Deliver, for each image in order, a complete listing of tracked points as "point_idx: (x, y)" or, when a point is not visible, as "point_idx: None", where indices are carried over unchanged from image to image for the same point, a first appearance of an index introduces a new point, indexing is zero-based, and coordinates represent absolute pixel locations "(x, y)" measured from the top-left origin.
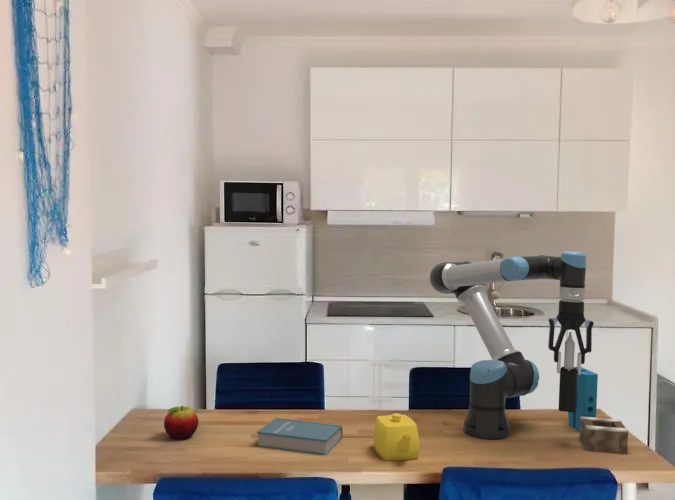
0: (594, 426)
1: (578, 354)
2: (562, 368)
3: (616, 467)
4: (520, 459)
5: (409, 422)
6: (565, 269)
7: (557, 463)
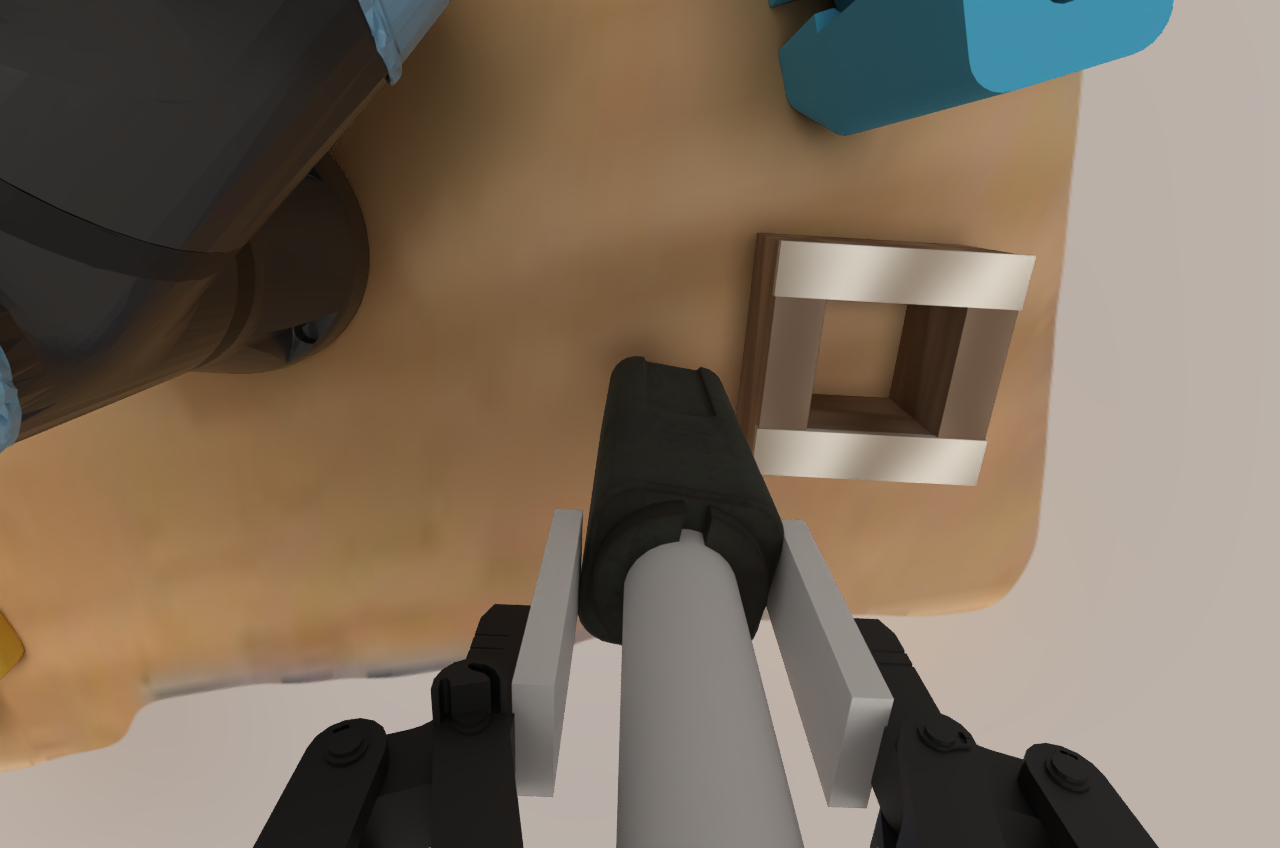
0: (806, 444)
1: (830, 767)
2: (600, 618)
3: None
4: (425, 588)
5: None
6: None
7: None
